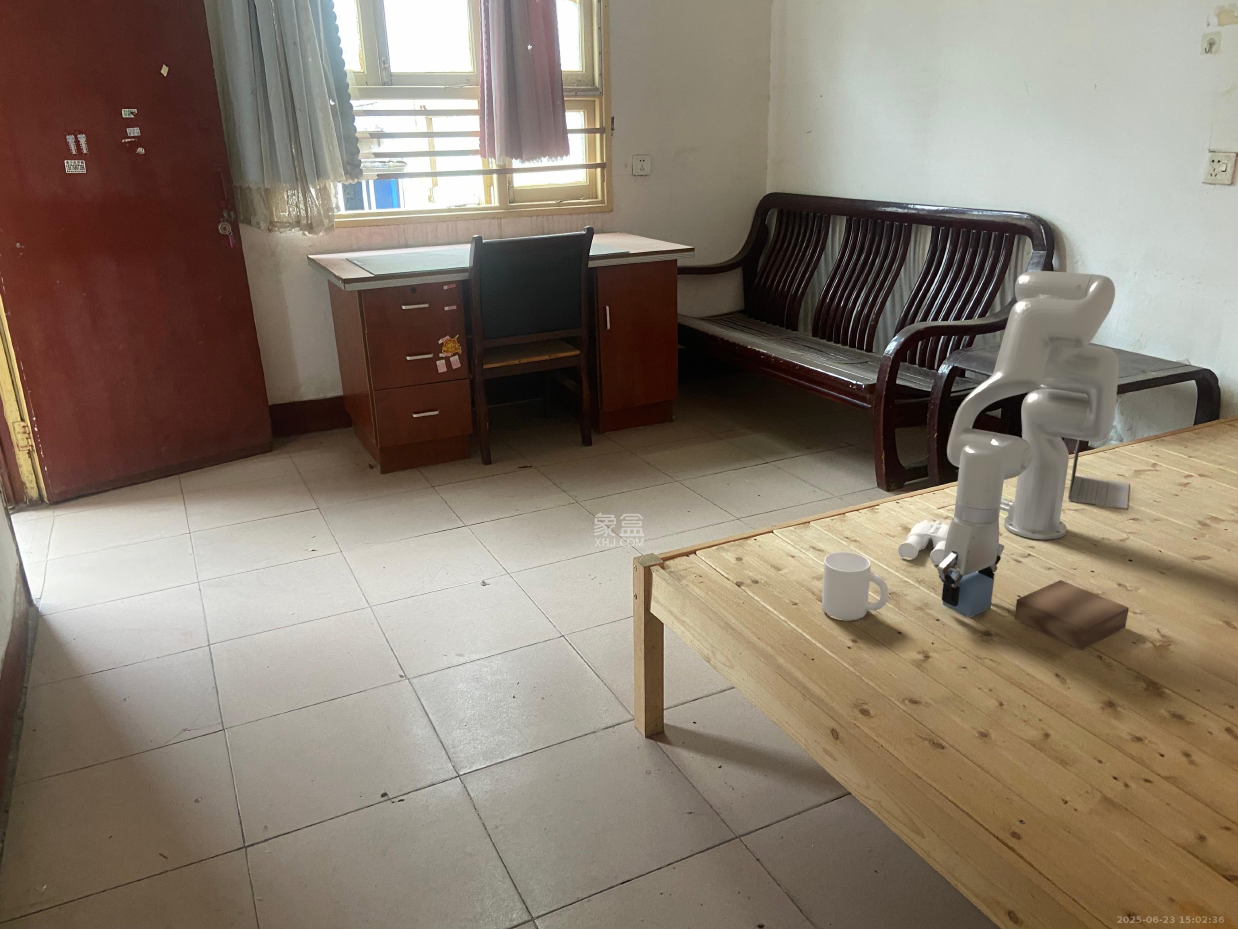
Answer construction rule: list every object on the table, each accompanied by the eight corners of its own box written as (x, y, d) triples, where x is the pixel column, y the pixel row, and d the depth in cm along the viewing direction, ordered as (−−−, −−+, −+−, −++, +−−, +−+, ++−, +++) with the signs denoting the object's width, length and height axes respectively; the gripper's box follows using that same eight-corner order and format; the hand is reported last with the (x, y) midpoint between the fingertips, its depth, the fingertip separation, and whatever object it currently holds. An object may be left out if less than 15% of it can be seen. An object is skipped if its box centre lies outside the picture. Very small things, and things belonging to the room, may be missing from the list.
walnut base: (1014, 618, 164) (1016, 599, 163) (1057, 598, 171) (1060, 579, 169) (1081, 650, 154) (1085, 629, 153) (1125, 627, 160) (1128, 607, 159)
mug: (892, 612, 168) (897, 561, 165) (878, 632, 162) (882, 580, 158) (830, 596, 174) (833, 548, 171) (814, 615, 168) (817, 565, 164)
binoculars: (896, 559, 189) (898, 539, 188) (915, 531, 202) (917, 512, 200) (948, 569, 184) (951, 549, 182) (964, 540, 197) (966, 520, 195)
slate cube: (942, 604, 170) (945, 576, 168) (963, 595, 173) (966, 567, 171) (969, 617, 165) (972, 588, 163) (990, 608, 168) (994, 579, 166)
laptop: (1126, 511, 209) (1136, 458, 205) (1067, 502, 215) (1074, 450, 211) (1129, 485, 224) (1137, 435, 219) (1072, 478, 230) (1080, 429, 225)
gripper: (989, 494, 170) (979, 577, 176) (927, 515, 161) (919, 601, 167) (1025, 507, 164) (1014, 591, 170) (962, 529, 155) (952, 617, 161)
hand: (967, 596), depth 168 cm, fingers open, 9 cm apart
